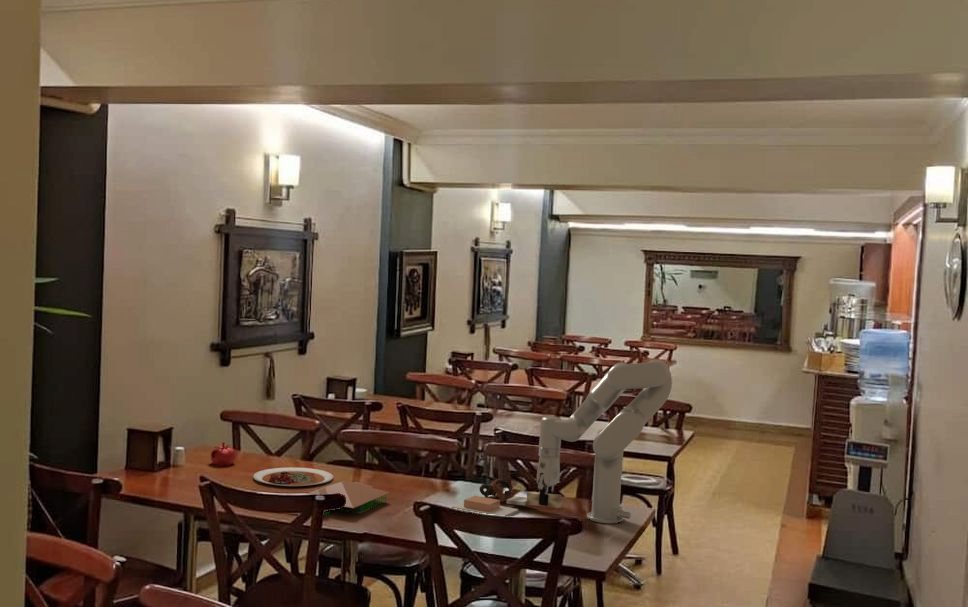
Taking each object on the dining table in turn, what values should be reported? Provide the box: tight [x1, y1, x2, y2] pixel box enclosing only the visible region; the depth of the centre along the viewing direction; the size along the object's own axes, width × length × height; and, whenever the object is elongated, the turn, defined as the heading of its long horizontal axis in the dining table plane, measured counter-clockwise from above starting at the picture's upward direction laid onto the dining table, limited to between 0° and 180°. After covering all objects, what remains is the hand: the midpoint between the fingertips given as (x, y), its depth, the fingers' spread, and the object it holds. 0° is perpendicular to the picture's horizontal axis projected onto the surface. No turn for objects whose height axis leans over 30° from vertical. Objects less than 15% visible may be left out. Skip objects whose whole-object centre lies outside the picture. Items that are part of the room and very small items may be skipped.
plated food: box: [252, 467, 334, 487], centre depth 352 cm, size 30×30×3 cm
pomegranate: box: [210, 441, 237, 467], centre depth 370 cm, size 10×10×9 cm
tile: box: [463, 495, 501, 512], centre depth 321 cm, size 3×8×10 cm
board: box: [451, 501, 519, 517], centre depth 320 cm, size 20×12×1 cm, turn 62°
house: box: [306, 480, 390, 515], centre depth 319 cm, size 23×33×8 cm
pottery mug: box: [479, 478, 513, 503], centre depth 336 cm, size 12×9×8 cm
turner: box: [506, 491, 563, 509], centre depth 324 cm, size 19×7×4 cm, turn 62°
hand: (545, 503), depth 322 cm, fingers closed on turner, 3 cm apart
